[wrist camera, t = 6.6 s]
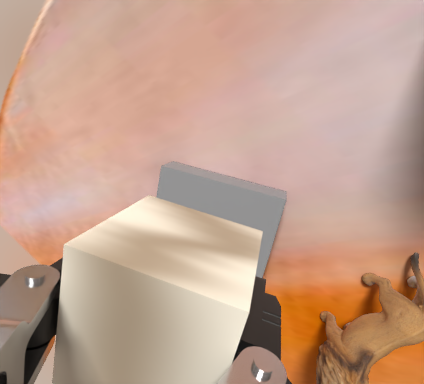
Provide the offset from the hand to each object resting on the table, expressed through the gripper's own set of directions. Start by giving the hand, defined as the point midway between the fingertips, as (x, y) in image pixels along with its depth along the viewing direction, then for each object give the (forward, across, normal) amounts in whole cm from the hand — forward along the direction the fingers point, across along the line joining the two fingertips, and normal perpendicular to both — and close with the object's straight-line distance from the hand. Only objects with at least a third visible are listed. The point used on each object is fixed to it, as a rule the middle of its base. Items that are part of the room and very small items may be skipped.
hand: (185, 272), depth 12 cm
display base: (+18, +1, +6) cm, 19 cm away
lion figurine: (+18, -15, +9) cm, 25 cm away
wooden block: (+1, 0, 0) cm, 1 cm away
